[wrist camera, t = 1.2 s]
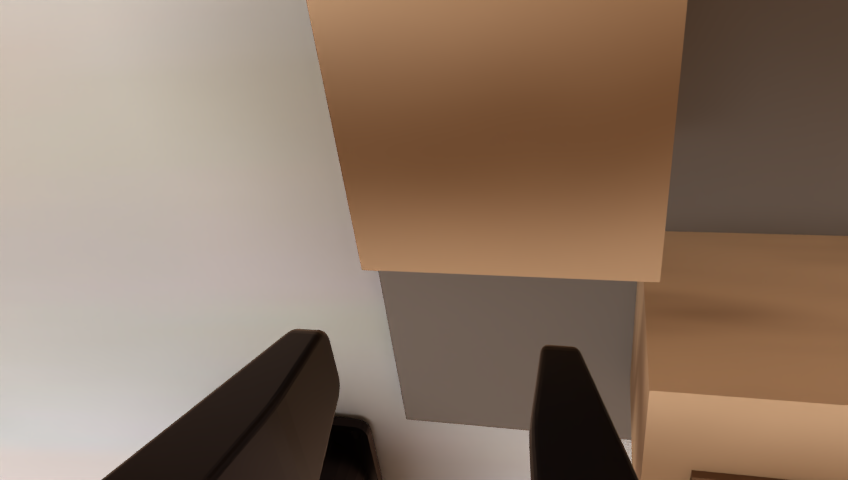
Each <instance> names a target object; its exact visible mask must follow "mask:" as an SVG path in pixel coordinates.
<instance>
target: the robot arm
mask: <svg viewBox="0 0 848 480" xmlns="http://www.w3.org/2000/svg"><path fill="white" fill-rule="evenodd" d="M339 387H340V383H339V376H338V372H337V368H336V364H335V360H334V356H333V352H332V348H331V344H330V341H329V338H328V336H327V334H326V333H325V332H323V331H321V330H307V329H294V330H291V331H290V332H288V333H287V334H285V335H284V336H283V337H281V338H280V339H279V340H278V341H276V342H275V343H274V344H273V345H271V346H270V347H269V348H268V349H266V350H265V351H264V352H262V353H261V354H260V355H259V356H257V357H256V358H255V359H254V360H252V361H251V362H250V363H249V364H247V365H246V366H245V367H244V368H242V369H241V370H240V371H238V372H237V373H236V374H235V375H233V376H232V377H231V378H230V379H228V380H227V381H226V382H225V383H223V384H222V385H221V386H220V387H218V388H217V389H216V390H214V391H213V392H212V393H211V394H209V395H208V396H207V397H206V398H204V399H203V400H202V401H201V402H199V403H198V404H197V405H195V406H194V407H193V408H192V409H190V410H189V411H188V412H187V413H185V414H184V415H183V416H182V417H180V418H179V419H178V420H177V421H175V422H174V423H173V424H171V425H170V426H169V427H168V428H166V429H165V430H164V431H163V432H161V433H160V434H159V435H158V436H156V437H155V438H154V439H152V440H151V441H150V442H149V443H147V444H146V445H145V446H144V447H142V448H141V449H140V450H139V451H137V452H136V453H135V454H134V455H132V456H131V457H130V458H128V459H127V460H126V461H125V462H123V463H122V464H121V465H120V466H118V467H117V468H116V469H115V470H113V471H112V472H111V473H110V474H108V475H107V476H106V477H104V478H103V479H102V480H382V475H381V471H380V467H379V463H378V459H377V454H376V450H375V446H374V442H373V437H372V433H371V429H370V427H369V425H368V424H367V423H366V422H364V421H362V420H359V419H352V418H341V417H334V414H335V410H336V406H337V401H338V397H339ZM529 448H530V471H531V480H639V479H638V477H637V475H636V472H635V470H634V468H633V466H632V464H631V461H630V459H629V457H628V455H627V453H626V450H625V448H624V446H623V444H622V442H621V439H620V437H619V435H618V433H617V431H616V428H615V426H614V424H613V422H612V420H611V418H610V415H609V413H608V411H607V409H606V407H605V404H604V402H603V400H602V398H601V396H600V393H599V391H598V389H597V387H596V385H595V382H594V380H593V378H592V376H591V374H590V371H589V369H588V367H587V365H586V363H585V361H584V358H583V356H582V354H581V352H580V351H579V349H578V348H576V347H573V346H559V345H545V346H543V347H542V348H541V351H540V357H539V364H538V371H537V377H536V384H535V391H534V398H533V405H532V412H531V419H530V430H529Z"/></svg>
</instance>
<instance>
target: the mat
mask: <svg viewBox="0 0 848 480" xmlns="http://www.w3.org/2000/svg"><path fill="white" fill-rule="evenodd" d="M665 231H676V232H715V233H753V234H792V235H830V236H848V0H688V1H687V11H686V21H685V31H684V42H683V52H682V62H681V72H680V83H679V93H678V103H677V113H676V124H675V134H674V144H673V154H672V165H671V175H670V185H669V195H668V206H667V216H666V226H665ZM378 272H379V277H380V282H381V287H382V293H383V298H384V303H385V308H386V314H387V319H388V324H389V329H390V335H391V340H392V345H393V350H394V356H395V361H396V366H397V372H398V377H399V382H400V387H401V393H402V398H403V403H404V408H405V414H406V419H410V420H421V421H432V422H443V423H454V424H465V425H475V426H486V427H497V428H508V429H519V430H530V419H531V412H532V405H533V398H534V391H535V384H536V377H537V371H538V364H539V357H540V351H541V348H542V347H543V346H545V345H559V346H573V347H576V348H578V349H579V351H580V352H581V354H582V356H583V358H584V361H585V363H586V365H587V367H588V369H589V371H590V374H591V376H592V378H593V380H594V382H595V385H596V387H597V389H598V391H599V393H600V396H601V398H602V400H603V402H604V404H605V407H606V409H607V411H608V413H609V415H610V418H611V420H612V422H613V424H614V426H615V428H616V431H617V433H618V435H619V437H620V439H629V440H631V400H630V373H631V359H632V346H633V332H634V319H635V305H636V292H637V281H614V280H590V279H566V278H543V277H519V276H495V275H471V274H447V273H423V272H399V271H378Z"/></svg>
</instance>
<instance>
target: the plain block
mask: <svg viewBox="0 0 848 480" xmlns="http://www.w3.org/2000/svg"><path fill="white" fill-rule="evenodd" d="M687 1H688V0H306V2H307V6H308V11H309V16H310V21H311V26H312V31H313V35H314V40H315V45H316V50H317V55H318V60H319V64H320V69H321V74H322V79H323V84H324V89H325V94H326V98H327V103H328V108H329V113H330V118H331V123H332V127H333V132H334V137H335V142H336V147H337V152H338V156H339V161H340V166H341V171H342V176H343V181H344V186H345V190H346V195H347V200H348V205H349V210H350V215H351V219H352V224H353V229H354V234H355V239H356V244H357V249H358V253H359V258H360V263H361V268H362V270H375V271H399V272H423V273H447V274H471V275H495V276H519V277H543V278H566V279H590V280H614V281H638V282H660V277H661V267H662V257H663V247H664V236H665V226H666V216H667V206H668V195H669V185H670V175H671V165H672V154H673V144H674V134H675V124H676V113H677V103H678V93H679V83H680V72H681V62H682V52H683V42H684V31H685V21H686V11H687Z"/></svg>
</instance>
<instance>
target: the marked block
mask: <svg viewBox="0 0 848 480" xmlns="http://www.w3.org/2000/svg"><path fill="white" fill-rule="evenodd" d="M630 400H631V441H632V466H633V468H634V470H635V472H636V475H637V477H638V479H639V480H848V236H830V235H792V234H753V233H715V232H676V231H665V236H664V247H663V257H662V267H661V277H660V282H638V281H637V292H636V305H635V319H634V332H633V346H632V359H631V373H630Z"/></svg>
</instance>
